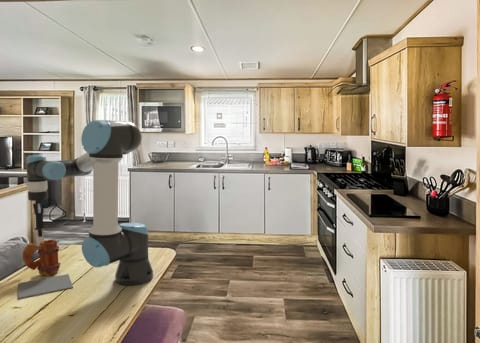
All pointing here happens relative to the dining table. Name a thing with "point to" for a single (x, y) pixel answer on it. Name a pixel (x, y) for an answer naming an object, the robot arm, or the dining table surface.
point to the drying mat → (44, 286)
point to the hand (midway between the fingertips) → (40, 243)
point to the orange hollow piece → (43, 257)
